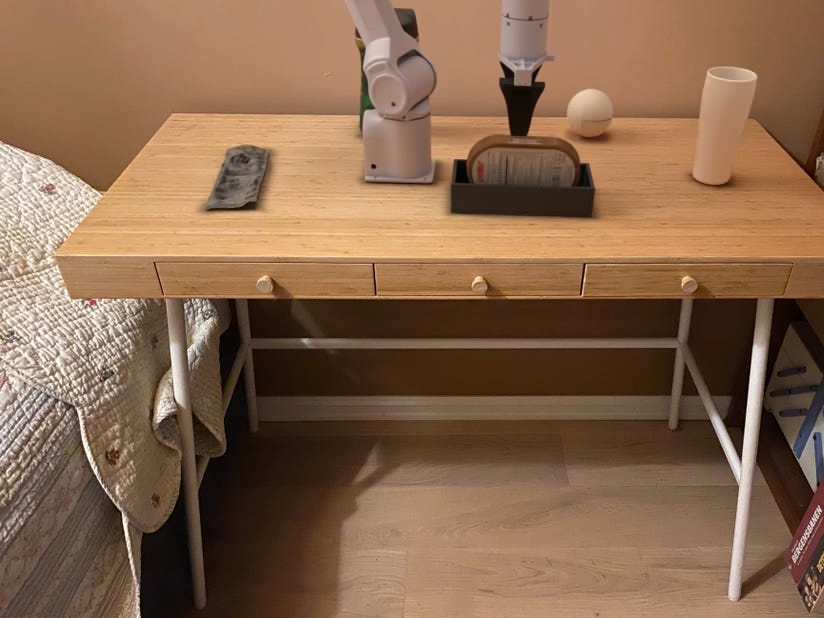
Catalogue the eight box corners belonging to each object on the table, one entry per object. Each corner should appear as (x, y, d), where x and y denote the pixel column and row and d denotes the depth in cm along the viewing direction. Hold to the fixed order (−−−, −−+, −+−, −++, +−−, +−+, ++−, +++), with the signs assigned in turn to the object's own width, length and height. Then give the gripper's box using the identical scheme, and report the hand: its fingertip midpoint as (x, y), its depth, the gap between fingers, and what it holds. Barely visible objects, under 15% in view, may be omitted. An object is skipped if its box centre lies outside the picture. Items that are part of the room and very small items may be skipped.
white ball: (568, 144, 124) (572, 97, 120) (562, 127, 130) (566, 82, 126) (631, 144, 125) (637, 98, 121) (622, 128, 131) (628, 83, 127)
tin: (576, 195, 108) (583, 135, 103) (578, 205, 105) (585, 144, 100) (466, 191, 108) (467, 131, 103) (465, 201, 105) (466, 140, 100)
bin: (450, 213, 104) (450, 184, 101) (453, 186, 111) (453, 158, 108) (591, 217, 104) (595, 188, 101) (586, 190, 111) (589, 162, 108)
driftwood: (228, 150, 119) (226, 137, 118) (274, 150, 120) (273, 136, 118) (204, 213, 102) (201, 198, 101) (257, 211, 103) (255, 197, 102)
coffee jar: (358, 140, 123) (350, 14, 112) (362, 123, 130) (354, 1, 119) (420, 141, 124) (418, 15, 113) (421, 123, 130) (418, 2, 119)
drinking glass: (738, 175, 116) (762, 70, 107) (729, 192, 111) (754, 84, 102) (692, 166, 118) (712, 63, 110) (681, 182, 113) (701, 76, 105)
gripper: (561, 31, 90) (551, 146, 98) (554, 2, 102) (546, 107, 110) (499, 29, 90) (494, 144, 98) (500, 0, 102) (496, 105, 110)
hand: (518, 124), depth 104 cm, fingers open, 7 cm apart
